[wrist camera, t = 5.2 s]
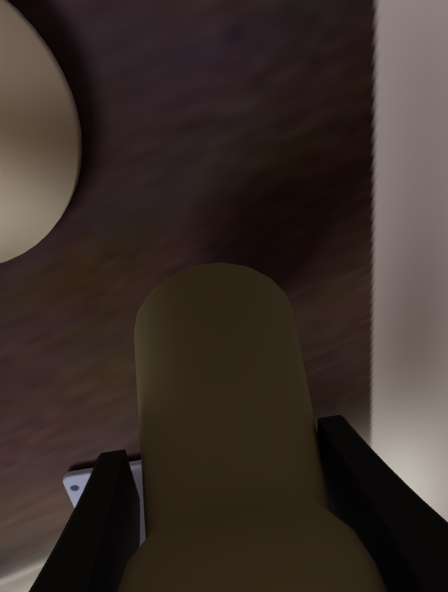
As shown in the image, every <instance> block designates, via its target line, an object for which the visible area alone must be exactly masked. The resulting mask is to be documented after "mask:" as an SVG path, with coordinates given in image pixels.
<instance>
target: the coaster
mask: <svg viewBox="0 0 448 592" xmlns="http://www.w3.org/2000/svg"><path fill="white" fill-rule="evenodd" d="M81 160H82V135H81V127H80V121H79V116H78V111H77V108H76V104H75V101H74V98H73V94H72V91H71V89H70V87H69V84H68V82H67V80H66V77H65V75H64V73H63V71H62V69H61V67H60V65H59V64H58V62H57V60H56V58H55V57H54V55H53V53H52V51H51V50H50V48H49V47H48V46H47V44H46V43H45V41H44V40H43V39H42V37H41V36H40V34H39V33H38V32H37V30H36V29H35V28H34V27H33V26H32V25H31V24H30V22H29V21H28V20H27V19H26V18H25V17H24V16H23V15H22V13H21V12H20V11H19V10H18V9H17V8H16V7H14V6H13V5H12V4H11V3H10V2H9V1H8V0H0V263H2V262H5V261H8V260H10V259H12V258H14V257H17V256H19V255H21V254H23V253H24V252H26V251H27V250H29V249H30V248H32V247H33V246H35V245H36V244H37V243H39V242H40V241H41V240H42V239H43V238H44V237H45V236H46V235H47V234H48V233H49V232H50V231H51V229H52V228H53V227H54V226H55V224H56V223H57V222H58V221H59V219H60V218H61V216H62V215H63V213H64V212H65V210H66V208H67V206H68V204H69V203H70V201H71V199H72V197H73V194H74V191H75V189H76V186H77V183H78V179H79V174H80V170H81Z"/></svg>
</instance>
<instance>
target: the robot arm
mask: <svg viewBox="0 0 448 592" xmlns="http://www.w3.org/2000/svg"><path fill="white" fill-rule="evenodd" d="M317 436H318V442H319V447H320V453H321V458H322V463H323V469H324V474H325V479H326V485H327V490H328V495H329V501H330V506H331V511H332V514H333V515H335V516H336V517H337V518H339V519H340V520H341V521H342V522H344V523H345V524H346V525H348V526H349V527H350V528H352V529H353V530H354V531H355V532H356V533H357V535H358V537H359V538H360V540H361V541H362V543H363V544H364V546H365V547H366V549H367V550H368V552H369V553H370V555H371V557H372V558H373V560H374V561H375V563H376V565H377V567H378V570H379V572H380V574H381V576H382V578H383V580H384V583H385V585H386V588H387V590H388V592H448V522H447V521H446V520H445V519H443V518H442V517H441V516H440V515H439V514H438V513H437V512H436V511H434V510H433V509H432V508H431V507H430V506H429V505H428V504H427V503H425V501H423V500H422V499H421V498H420V497H419V496H418V495H417V494H416V493H415V492H414V491H413V490H412V489H411V488H410V487H409V486H408V485H406V483H405V482H403V480H401V478H400V477H399V476H398V475H397V474H395V473H394V472H393V470H391V468H389V467H388V465H387V464H386V463H385V462H384V461H383V460H382V459H381V458H380V457H379V456H378V455H377V454H376V453H375V452H374V451H373V450H372V449H371V448H370V446H369V445H368V444H367V443H366V442H365V441H364V440H363V439H362V438H361V437H360V435H359V434H358V433H357V432H356V431H355V430H354V429H353V428H352V426H351V425H350V424H349V423H348V422H347V421H346V419H345V418H344V417H342V416H341V415H336V416H330V417H324V418H318V430H317ZM63 483H64V486H65V488H66V490H67V492H68V495H69V497H70V499H71V501H72V504H73V506H74V508H75V509H74V511H73V513H72V514H71V516H70V518H69V520H68V522H67V524H66V526H65V528H64V530H63V532H62V534H61V536H60V538H59V540H58V541H57V543H56V545H55V547H54V549H53V551H52V552H51V554H50V556H49V558H48V559H47V561H46V563H45V565H44V566H43V568H42V570H41V572H40V573H39V575H38V577H37V579H36V580H35V582H34V584H33V585H32V587H31V589H30V590H29V592H117V590H118V587H119V584H120V581H121V579H122V576H123V573H124V570H125V567H126V564H127V563H128V561H129V560H130V559H131V557H132V556H133V555H134V554H135V552H136V551H137V550H138V548H139V547H140V546H141V545H142V543H143V542H144V541H145V540H146V537H145V520H144V502H143V484H142V467H141V460H137V461H131V462H129V461H128V457H127V454H126V451H125V449H124V450H118V451H112V452H105V453H101V454H100V455H99V456H98V458H97V460H96V463H95V465H94V468H88V469H81V470H75V471H70V472H68V473H66V474H65V476H64V480H63Z"/></svg>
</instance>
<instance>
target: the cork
mask: <svg viewBox="0 0 448 592" xmlns="http://www.w3.org/2000/svg"><path fill="white" fill-rule="evenodd" d="M134 343H135V361H136V378H137V396H138V414H139V431H140V449H141V467H142V484H143V502H144V520H145V537H146V540H145V541H144V542H143V543H142V545H141V546H140V547H139V548H138V550H137V551H136V552H135V554H134V555H133V556H132V557H131V559H130V560H129V561H128V563H127V564H126V567H125V570H124V573H123V576H122V579H121V581H120V584H119V587H118V590H117V592H388V590H387V588H386V585H385V583H384V580H383V578H382V576H381V574H380V572H379V570H378V567H377V565H376V563H375V561H374V560H373V558H372V557H371V555H370V553H369V552H368V550H367V549H366V547H365V546H364V544H363V543H362V541H361V540H360V538H359V537H358V535H357V533H356V532H355V531H354V530H353V529H352V528H350V527H349V526H348V525H346V524H345V523H344V522H342V521H341V520H340V519H339V518H337V517H336V516H335V515H333V514H332V511H331V506H330V501H329V495H328V490H327V485H326V479H325V474H324V469H323V463H322V458H321V453H320V447H319V442H318V436H317V431H316V426H315V420H314V415H313V410H312V404H311V399H310V394H309V388H308V383H307V378H306V372H305V367H304V362H303V356H302V351H301V346H300V340H299V335H298V329H297V324H296V319H295V314H294V312H293V309H292V307H291V304H290V302H289V299H288V297H287V295H286V294H285V293H284V292H283V291H282V289H281V288H280V287H279V286H278V285H277V284H276V283H275V282H274V281H273V280H272V279H271V278H269V277H267V276H266V275H264V274H262V273H260V272H258V271H256V270H254V269H252V268H250V267H247V266H241V265H235V264H229V263H223V262H218V263H210V264H202V265H194V266H191V267H189V268H186V269H184V270H182V271H179V272H177V273H175V274H173V275H170V276H168V277H167V278H166V279H165V280H163V281H162V282H161V283H160V284H159V285H158V286H156V287H155V288H154V289H153V290H152V291H151V292H149V294H148V295H147V297H146V299H145V301H144V302H143V304H142V306H141V308H140V309H139V311H138V313H137V318H136V325H135V332H134Z"/></svg>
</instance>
